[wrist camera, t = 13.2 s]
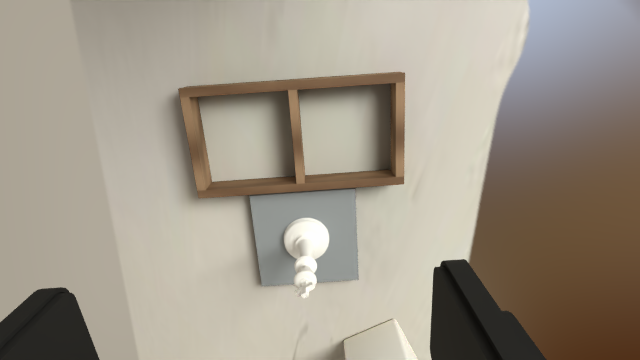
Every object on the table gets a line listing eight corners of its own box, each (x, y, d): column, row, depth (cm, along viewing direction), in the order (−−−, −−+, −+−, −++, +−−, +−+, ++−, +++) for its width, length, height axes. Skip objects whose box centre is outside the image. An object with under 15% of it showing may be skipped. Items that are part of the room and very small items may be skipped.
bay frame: (187, 86, 35) (178, 88, 33) (398, 71, 35) (404, 73, 33) (205, 189, 38) (198, 198, 36) (398, 176, 38) (403, 184, 36)
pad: (250, 192, 39) (249, 196, 38) (354, 185, 39) (355, 188, 38) (262, 281, 42) (261, 286, 41) (357, 274, 42) (358, 279, 41)
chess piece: (274, 231, 39) (263, 287, 30) (314, 209, 38) (314, 259, 29) (299, 265, 40) (295, 329, 31) (337, 244, 40) (345, 303, 30)
